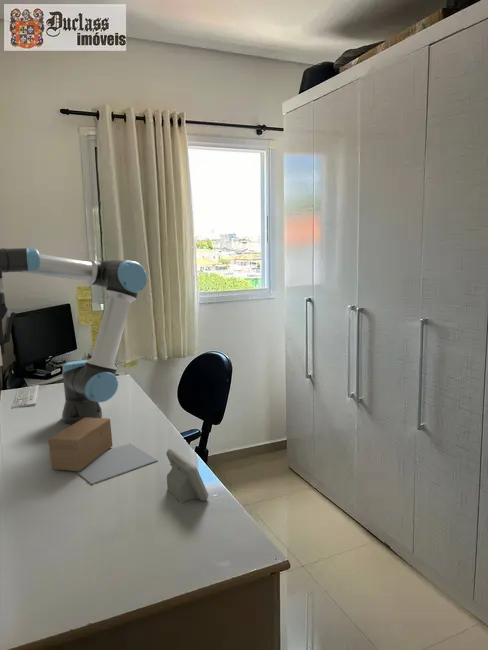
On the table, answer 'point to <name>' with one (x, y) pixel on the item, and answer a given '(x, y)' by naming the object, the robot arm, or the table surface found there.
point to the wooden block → (80, 444)
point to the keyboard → (25, 397)
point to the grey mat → (115, 463)
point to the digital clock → (184, 479)
